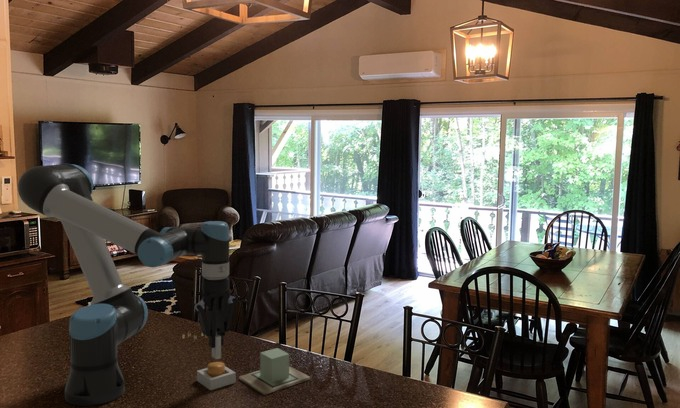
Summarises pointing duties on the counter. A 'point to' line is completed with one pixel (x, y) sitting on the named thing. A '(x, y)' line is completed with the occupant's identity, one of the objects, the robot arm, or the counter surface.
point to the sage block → (274, 365)
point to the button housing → (216, 378)
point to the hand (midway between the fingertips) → (216, 357)
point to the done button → (216, 369)
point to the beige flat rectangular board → (268, 387)
